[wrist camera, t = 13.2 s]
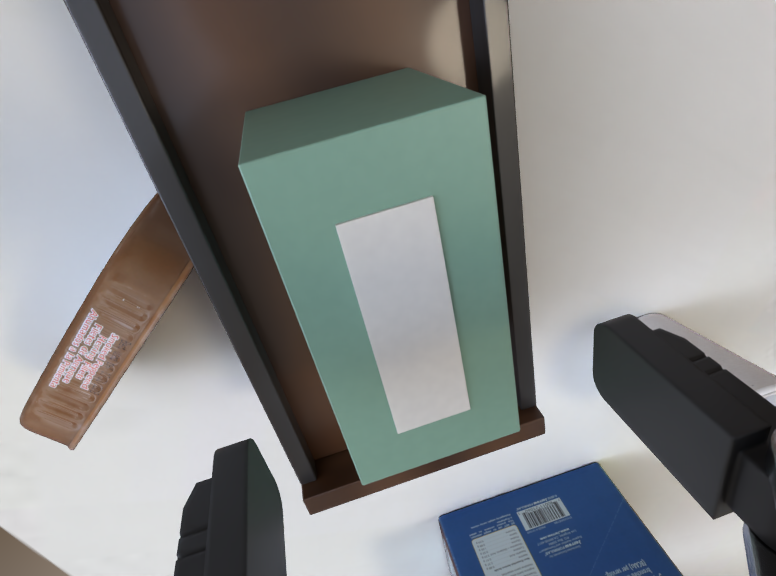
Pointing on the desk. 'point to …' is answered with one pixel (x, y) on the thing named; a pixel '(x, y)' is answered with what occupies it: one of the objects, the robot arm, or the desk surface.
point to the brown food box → (109, 328)
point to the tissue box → (391, 261)
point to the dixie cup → (720, 356)
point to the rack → (231, 198)
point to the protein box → (554, 532)
